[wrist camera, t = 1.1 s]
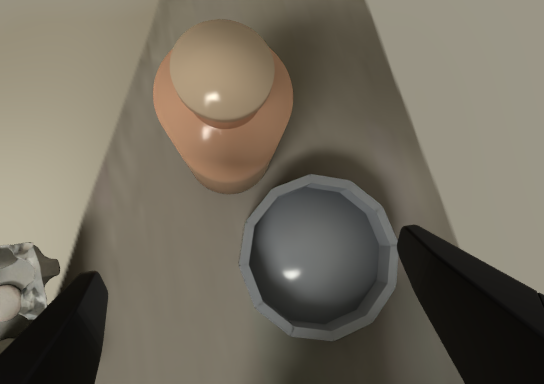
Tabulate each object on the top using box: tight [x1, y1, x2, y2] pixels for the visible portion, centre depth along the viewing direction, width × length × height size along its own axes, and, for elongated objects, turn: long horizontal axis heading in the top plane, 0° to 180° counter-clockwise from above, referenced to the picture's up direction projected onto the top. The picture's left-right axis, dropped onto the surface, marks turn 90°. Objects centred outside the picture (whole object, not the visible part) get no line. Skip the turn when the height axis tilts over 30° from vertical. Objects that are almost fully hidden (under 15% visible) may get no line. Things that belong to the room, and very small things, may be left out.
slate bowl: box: [238, 174, 399, 341], centre depth 22 cm, size 10×10×2 cm
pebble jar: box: [153, 19, 293, 194], centre depth 18 cm, size 6×6×12 cm
